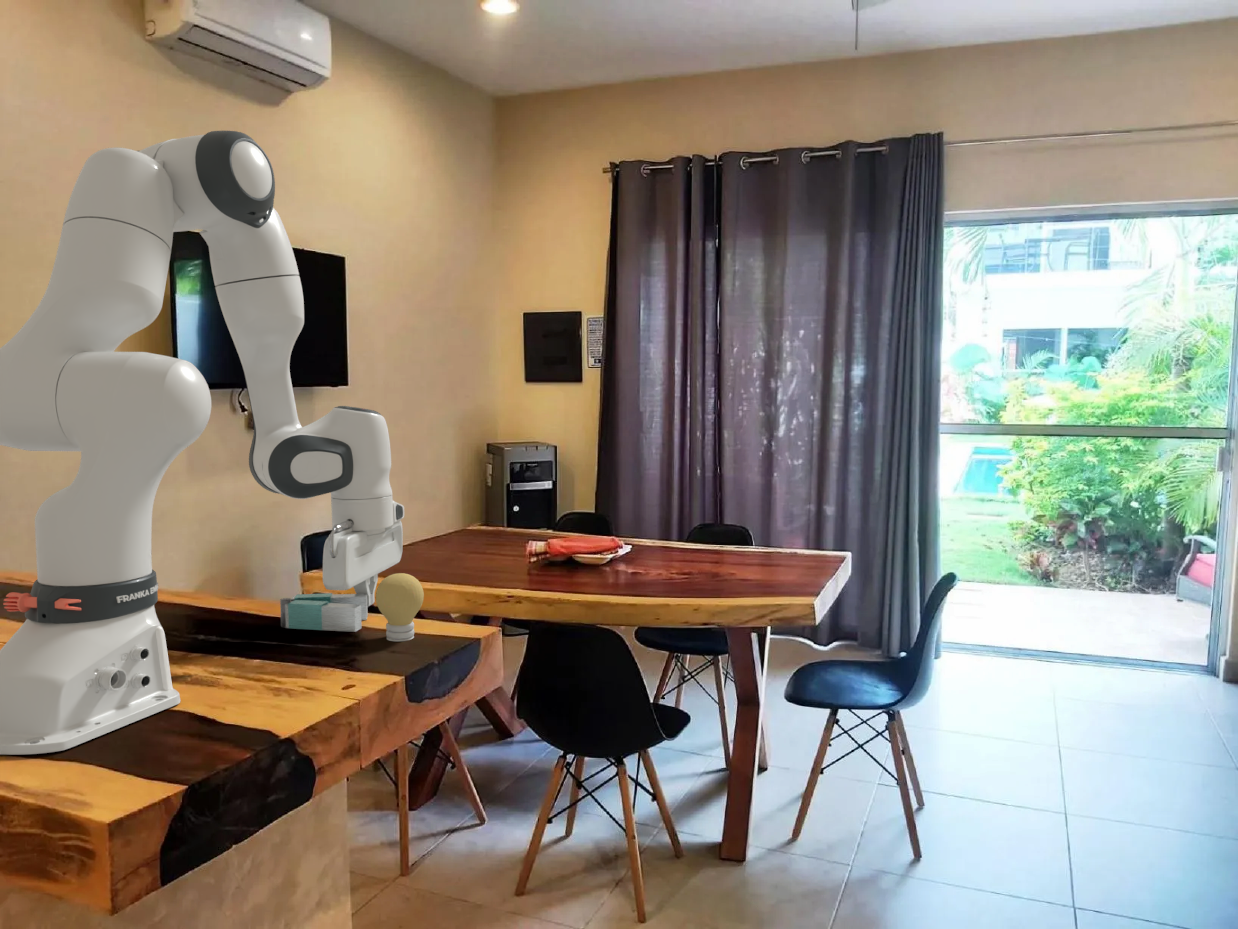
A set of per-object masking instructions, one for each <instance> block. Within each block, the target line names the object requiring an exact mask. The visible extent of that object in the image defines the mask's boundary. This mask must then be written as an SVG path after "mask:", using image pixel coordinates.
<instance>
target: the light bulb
mask: <svg viewBox="0 0 1238 929" xmlns="http://www.w3.org/2000/svg"><path fill="white" fill-rule="evenodd" d="M376 588H377V589H376V590H375V603H376V606H377V608H378V610H379V612H380V613H381V614H382V615H383V617H384V618H385V619H386V621H387V622H386V625H385V627H386V628H385V629H386V632H385V634H386V640H387V641H390V642H407V641H410V640H412V639H414V638H415V636H414V635H415V623H414V621H413V620H414V618H415V617H416V616H417V613H418V612H419V611H420V609H421V608H422V605H423V603H424V597H425V592H424V589H423V586H422V583H421V582H420V581H419V579H418V578H416V577H415V576H413V575H411V574H408V573H404V572H403V573H402V572H399V573H392V574H389V575H388V576H386V577H384V579H382V580H381V582H379V584H378V586H377V587H376Z"/></svg>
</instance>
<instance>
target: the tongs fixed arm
mask: <svg viewBox="0 0 1238 929" xmlns="http://www.w3.org/2000/svg"><path fill="white" fill-rule="evenodd" d="M279 603H280V604H279V605H280V627H281V628H285V629H290V630H291V629H294V630H295V629H296V630H313V631H333V632H334V631H335V632H350V633H351V632H353V633H354V632H355V633H357V632H358V631H359V630H361V629H363V628H362V627H363V626H362V624H363V623H362V620H361V605H358V604H338V603H329V601H309V600H295V601H292V602H291V598H290V597H284V598H280V600H279Z"/></svg>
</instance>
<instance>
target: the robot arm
mask: <svg viewBox="0 0 1238 929" xmlns="http://www.w3.org/2000/svg"><path fill="white" fill-rule="evenodd" d="M275 179H276V178H275V173H274V169H273V166H272V163H271V161H270V159H269V156H268V155H267V154H266V152H265V151H264V149H263V148H262V147H261V146H260V145H259V144H258V143H257V141H255V140H254V139H253V138H252V137H251V136H250V135H248V134H246V133H245V132H241V131H237V130H212V131H208V132H207V133H205V134H199V135H197V134H196V135H190V136H185V137H180V138H171V139H168V140H164V141H162V142H157V143H155V144H152V145H149V146H147V147H145V148H143V149H140V150H134V149H131V148H126V147H108V148H102V149H100V150H97V151H96V152H94V153H92V154H91V155H90V156H89V157H88V158H87V160H86V161H85V162H84V164H83V166H82V169H81V170H80V173H79V175H78V176H77V179H76V181H75V183H74V186H73V189H72V191H71V194H70V196H69V200H68V203H67V207H66V209H65V214H64V218H63V224H62V226H61V232H60V238H59V242H58V247H57V250H56V256H55V260H54V262H53V263H54V264H53V266H52V267H53V268H52V271H51V274H50V278H49V281H48V285H47V288H46V289H45V292H44V295H43V296H42V298H41V300H40V301H39V303H38V305H37V306H36V308H35V310H34V311H33V312H32V314H31V315H30V317H29V318H28V320H26V322H25V323H24V324H23V325H22V327H21V328H20V329H19V330H18V332H16V333H15V335H14V336H12V337H11V338H10V340H8V341H7V342H6V343H5V344H4V345H2V346H1V347H0V446H2V447H3V446H4V447H7V448H11V449H18V450H23V451H28V452H80V456H81V457H80V464H79V467H78V471H77V474H76V476H75V478H74V479H73V480H72V482H71V483H70V485H67V486H66V487H64V488H62V489H59V490H58V491H56V492H54V493H53V494H51V495H50V496H48V498H46V499H45V500H44V501H43V502H42V503H41V504H40V506H39V507H38V509H37V511H36V513H35V517H34V536H35V553H36V554H35V555H36V572H37V573H36V574H37V579H36V580H35V581H34V582H33V584H32V587H31V591H30V593H29V592H24V593H21V592H14V591H12V592H9V593H7V594H6V595H5V597H6V598H4V599H3V603H2V604H3V609H6V611H7V612H9V613H10V612H11V613H12V612H13V613H14V612H20V613H24V618H25V621H24V622H23V623H22V625H21V626H20V627H19V628H18V629H17V630H16V632H14V634H12V636H11V637H10V638H9V639H8V641H7V642H6V643H5V644H4V645H3V647H2V648H1V649H0V755H10V756H11V755H37V754H38V755H39V754H47V753H49V754H50V753H55V752H61V751H65V750H68V749H71V748H74V747H77V746H78V745H81V744H83V743H86V742H88V741H91V740H92V739H95V738H98V737H101V736H103V735H106V734H107V733H110V732H112V731H115V730H118V729H120V728H123V727H125V726H128V725H129V724H132V723H135V722H137V721H140V720H142V719H145V718H147V717H150V716H152V715H154V714H157V713H159V712H162V711H164V710H168V709H170V708H172V707H174V706H177V705H179V704H180V703H181V697H180V696H181V695H180V692H179V691H178V690H177V689H175V688H174V687H173V683H172V675H171V674H172V673H171V667H170V661H169V660H170V659H169V655H168V648H167V646H168V645H167V641H166V640H167V639H166V634H165V631H164V628H163V626H162V624H161V622H160V620H159V618H158V615H157V613H156V608H155V605H156V603H157V602H158V600H159V598H158V596H159V595H158V590H159V582H158V580H157V579H158V578H157V577H158V576H157V572H156V571H155V570H154V569H153V562H152V558H153V557H152V539H153V538H152V533H153V531H152V529H153V527H152V526H153V510H154V504H155V498H156V495H157V492H158V488H159V486H160V483H161V481H162V479H163V477H164V475H165V474H166V472H167V470H168V468H169V467H170V465H171V464H172V463H173V462H174V460H175V459H176V458H177V457H178V456H179V455H180V454H181V453H182V452H183V451H184V450H186V449H187V448H188V447H190V446H191V445H192V444H194V443H195V442H196V441H197V440H198V439H199V438H200V437H201V435H202V434H203V433H204V431H205V429H206V428H207V425H208V423H209V420H210V418H211V412H212V395H211V392H210V391H211V390H210V388H209V384H208V383H207V381H206V379H205V377H204V375H203V374H202V372H201V371H200V370H199V369H198V368H197V367H196V365H194V364H193V363H192V362H191V361H188V360H185V359H182V358H177V357H173V356H169V355H163V354H157V353H152V352H147V351H116V349H117V348H118V347H119V346H120V345H121V344H122V343H123V342H124V341H125V340H127V338H129V337H131V336H132V335H134V334H136V333H138V332H140V331H141V330H144V329H145V328H148V327H149V326H150V325H151V324H152V323H154V321H156V319H157V318H158V316H159V314H160V313H161V311H162V309H163V305H164V304H163V303H164V298H165V297H164V296H165V291H166V284H167V279H168V273H169V272H168V271H169V267H170V261H171V254H172V247H173V242H174V241H173V240H174V238H173V237H174V233H177V232H180V233H181V232H188V231H195V230H200V231H199V235H201V237H202V238H203V240H204V241H205V242H206V245H207V246H208V252H209V253H208V254H209V262H210V267H211V274H212V278H213V283H214V286H215V287H214V289H215V292H216V296H217V300H218V302H219V303H218V304H219V306H220V310H221V312H222V315H223V318H224V321H225V324H226V326H227V329H228V331H229V334H230V337H231V339H232V341H233V345H234V347H235V349H236V352H237V354H238V357H239V361H240V363H241V366H242V370H243V371H242V372H243V375H244V378H245V379H244V380H245V384H246V389H247V394H248V400H249V405H250V410H251V414H252V421H253V434H252V440H251V445H250V450H249V452H248V453H249V454H248V465H249V466H248V467H249V470H250V473H251V476H252V477H253V478H254V480H255V481H256V483H257V484H258V485H259V486H260V487H262V488H263V489H265V490H266V491H268V492H271V493H273V494H278V495H282V496H285V497H288V498H291V499H295V500H296V499H297V500H307V499H312V498H315V497H318V496H322V495H323V496H324V495H326V494H330V503H331V504H330V506H331V525H332V526H331V527H332V528H331V529H332V530H331V532H330V534H329V535H328V537H326V539H325V542H324V545H323V551H322V552H323V553H322V584H323V586H324V587H325V590H330V591H348V590H349V589H352V588H353V589H354V591H355V594H365V593H367V608H369V607H371V606H372V605H373V604H374V603H376V598H375V593H376V590H377V589H376V588H377V585H378V581H379V574H380V573H382V572H384V571H386V570H387V569H390V568H391V567H393V566H395V565H398V564H399V563H400V561H401V559H402V555H403V545H404V544H403V542H404V540H403V538H404V533H403V530H404V529H403V528H404V527H403V523H402V519H404V518H405V506H404V505H403V504H401V503H399V502H397V501H395V500H394V499H393V489H392V486H391V482H390V473H391V469H392V450H391V441H390V434H389V428H388V424H387V421H386V418H385V416H383V414H381V413H380V412H378V411H376V410H373V409H368V408H364V407H363V408H362V407H356V406H348V405H347V406H346V405H338V406H335V407H333V408H332V409H331V410H330V411H329V412H328V413H327V414H325V415H324V416H323V415H322V417H320V418H319V419H317V420H315V421H313V422H311V423H309V424H307V425H304V426H302V425H301V422H300V419H299V415H298V412H297V410H298V409H297V405H296V400H295V399H296V398H295V395H294V388H293V384H292V378H291V372H290V371H291V369H290V366H291V364H290V363H291V355H292V351H293V349H294V346H295V344H296V341H297V340H298V337H299V335H300V333H301V332H302V330H303V328H304V325H305V304H304V303H305V301H304V292H303V285H302V281H301V277H300V272H299V269H298V268H299V267H298V265H297V264H298V263H297V261H296V257H295V253H294V250H293V246H292V244H291V241H290V239H289V235H288V233H287V231H286V228H285V225H284V223H283V220H282V219H281V216H280V215H279V214H280V213H278V211H277V210H276V209H275V208H274V204H275V202H274V201H275V200H274V199H275V195H276V194H275V193H276V181H275Z"/></svg>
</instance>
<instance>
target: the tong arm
mask: <svg viewBox="0 0 1238 929" xmlns="http://www.w3.org/2000/svg"><path fill="white" fill-rule="evenodd" d="M290 599H291V602H292V601H295V600H309V601H329V603H338V604H358V605H361V621H367V619H368V616H369V615H368V612H369V611H368V607H367V593H365V594H356V593H345V594H344V593H343V594H341V593H339V594H333V593H332V592H329V593H328V592H327V593H326V592H325V593H301V594H299V593H298V594H296V595H292V597H291V598H290Z"/></svg>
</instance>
